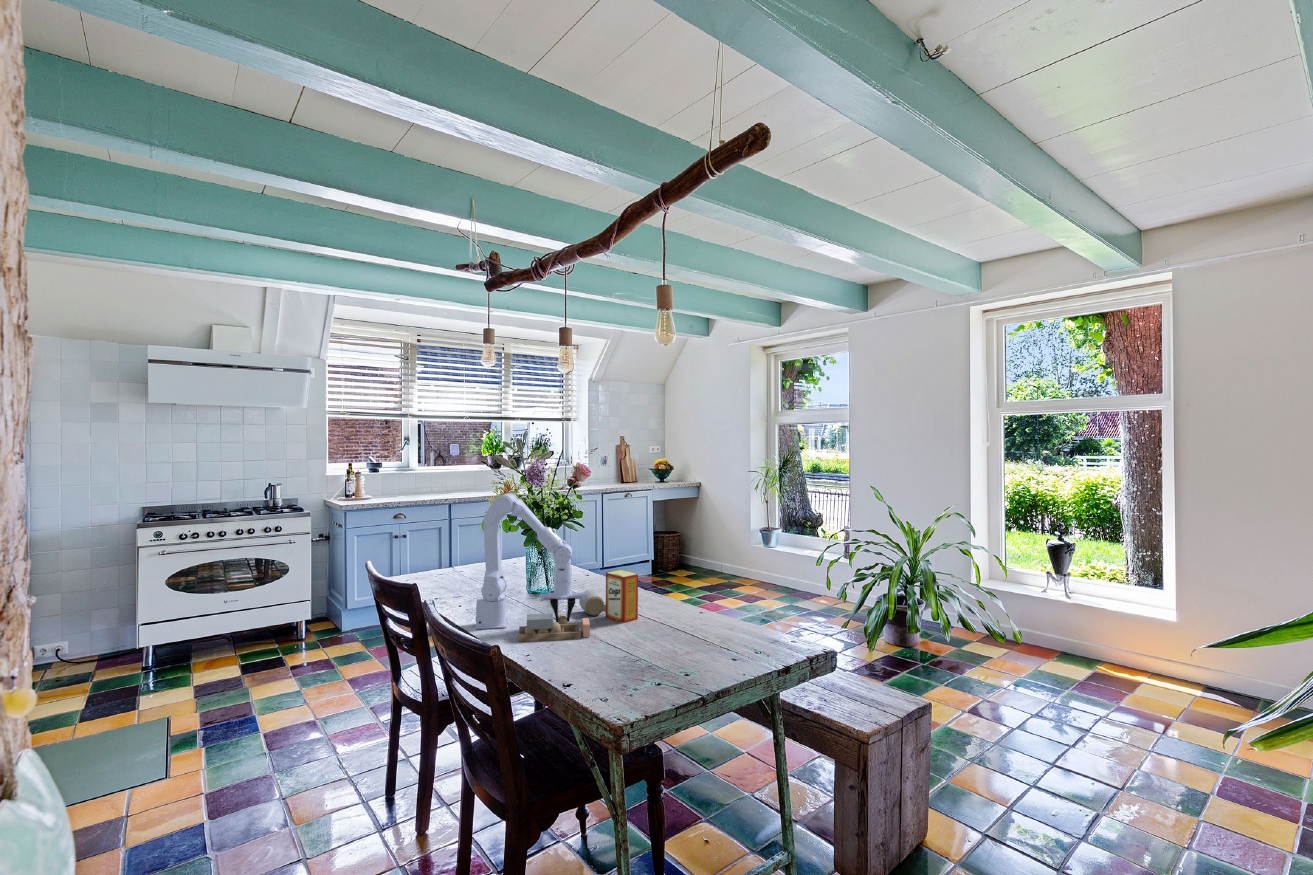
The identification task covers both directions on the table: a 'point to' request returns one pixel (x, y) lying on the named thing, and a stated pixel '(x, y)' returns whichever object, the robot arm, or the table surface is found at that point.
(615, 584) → the baking soda box
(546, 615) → the slab
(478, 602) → the robot arm
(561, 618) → the roller
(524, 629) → the roller track
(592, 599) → the ceramic mug
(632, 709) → the table surface
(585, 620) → the block
